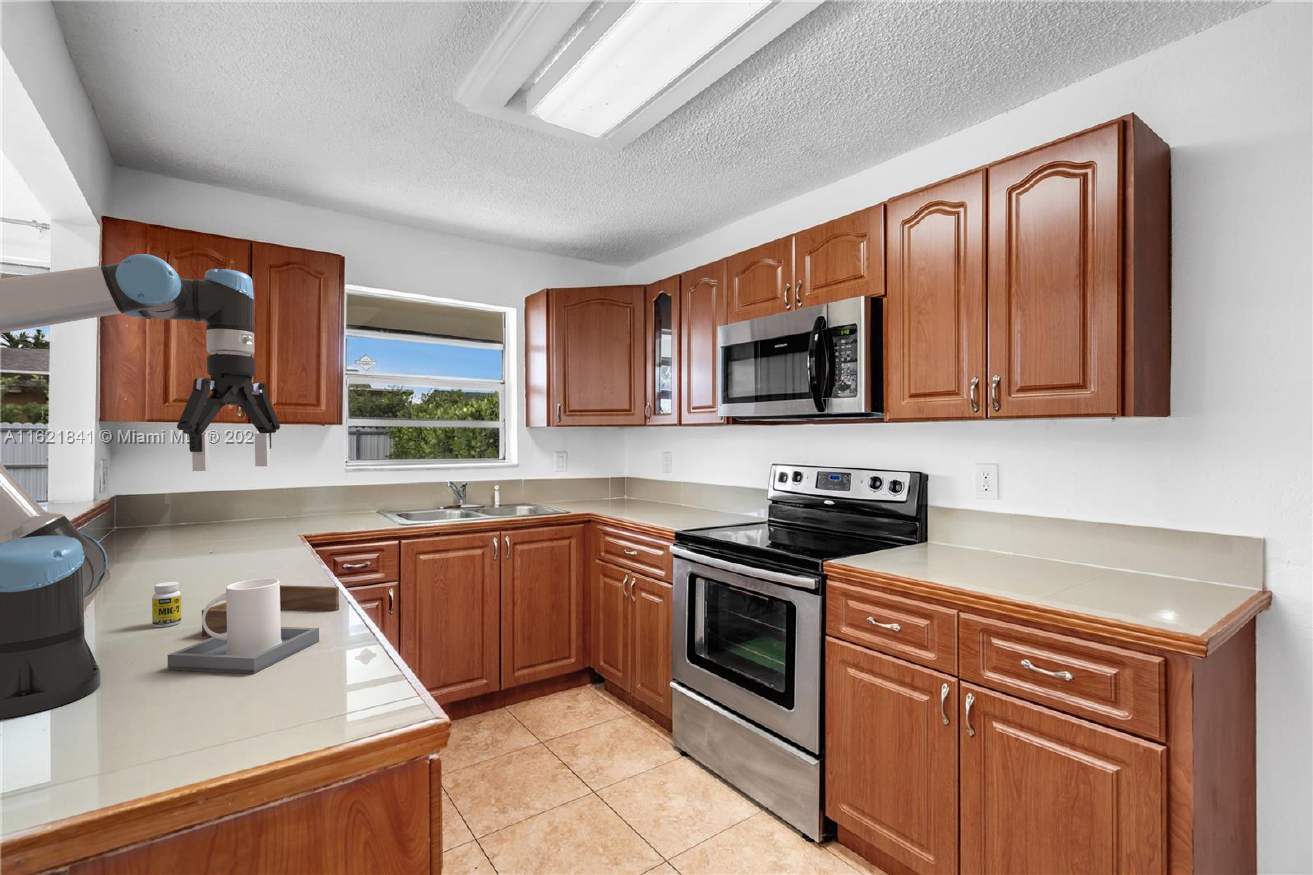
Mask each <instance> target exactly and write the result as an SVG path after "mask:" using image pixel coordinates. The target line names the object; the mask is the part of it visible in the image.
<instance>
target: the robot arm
mask: <svg viewBox="0 0 1313 875" xmlns="http://www.w3.org/2000/svg"><path fill="white" fill-rule="evenodd" d="M253 285H254V283H253V279H252V278H251V276H249V275H248V274H247V273H245V272H242V271H240V270H239V271H238V270H233V269H226V268H225V269H224V268H221V269H219V268H211V269H208V270H206V271H205V274H204V277H203V279H192V278H191V279H190V278H181V277H180V275H179V274H178V273H177V271H176V270H175V268H173V267H172V266H171V265H170V264H169V263H168V262H166V261H165V260H164V259H162V258H160V257H158V256H155V255H152V254H146V253H138V254H132V255H129V256H127V257H126V258H124V259H123V260H122V261H121V262H115V263H110V264H109V263H108V264H105V265H104V264H103V265H96V266H87V267H82V268H80V267H79V268H73V269H67V270H66V269H65V270H58V271H57V270H56V271H51V272H44V273H43V272H42V273H36V274H27V275H21V276H12V277H5V278H0V334H5V333H12V332H18V331H22V330H23V331H24V330H28V329H29V330H31V329H33V328H35V329H36V328H40V327H41V328H42V327H46V326H52V325H58V324H59V325H60V324H64V323H70V322H76V321H77V322H78V321H83V320H89V319H93V318H100V317H106V316H111V315H118V314H124V315H126V316H128V317H130V318H143V319H146V320H153V319H154V320H155V319H156V320H170V321H171V320H172V321H173V320H174V321H192V322H193V321H194V322H205V324H206V326H205V327H206V328H205V329H206V330H205V331H206V332H205V333H206V337H205V338H206V352H207V353H209V355H207V357H206V374H208V375H209V376H210V378H209V377H204V378H203V377H200V378H199V377H198V378H197V377H196V378H194V379H193V384H192V391H191V393H190V395H189V398H188V400H187V403H186V405H185V407H184V409H183V412H182V413H181V415H180V418H179V420H178V422H177V425H176V429H177V430H179V431H182V432H183V434H185V435H188V444H189V447H188V448H189V453H191V456H192V459H191V460H192V462H191V463H192V472H209V471H210V447H209V446H210V443H209V442H210V441H209V439H210V438H209V433H205V431H206V430H207V428H208V427H209V426H210V424H211V423H212V421H213V420H214V419H215V418H216V416H217V415H218V413H219V412H220V410H221V409H222V407H225V406H226V405H230V406H237V407H239V408H240V409H242V411H243V412H244V413H245V415H246V416H247V417H248V419H249V420H250V422H251V423H252V424H253V426H254V427H255V429H256V430H257V432H258V433H257V432H256V433H254V454H255V455H254V459H255V460H254V464H255V465H254V466H255V467H271V454H270V453H271V451H270V450H271V449H272V434H275V433H276V432H277V431H278V430H280V428H281V424H280V422H279V420H278V418H277V415H276V412H275V410H274V408H273V405H272V402H271V401H270V398H269V395H268V390H267V384H266V383H265V382H253V381H252V378H253V377H255V375H256V359H255V357H253V356H251V355H254V354H255V295H254V286H253ZM107 568H108V556H107V553H106V550H105V549H104V547H103V546H102V545H101V544H100V543H99V541H97V540H96V539H94V538H93V537H92V536H89V535H87V534H85V533H83V532H82V533H81V531H80V530H79V529H78V528H77V527H76V526H75V525H74V524H73V523H72V522H71V521H70V520H69V519H68V517H66V515H65V514H64V513H63V514H62V513H54V512H49V511H46V510H45V509H44V508H43V507H42V506H41V505H40V504H39V503H38V502H37V501H36V500H35V499H34V497H33V496H32V495H31V494H30V492H28V491H27V489H25V488H24V486H22V484H21V483H20V482H19V481H18V480H17V478H16V477H15V476H13V474H12V473H10V472H9V470H8V469H7V468H6V467H5V466H4V465H3V464H2V462H0V719H6V718H13V717H19V716H25V715H29V714H34V713H39V712H41V711H45V710H46V711H47V710H49V709H52V708H56V707H59V706H62V705H65V704H68V703H72V702H75V701H77V700H79V699H82V698H83V697H86V696H88V695H90V694H92V693H93V692H95V691H96V690H97V689H98V688H99V687H100V686H101V669H100V667H99V666H98V664H97V662H96V659H95V656H94V655H93V654H94V653H93V652H92V651H91V648H90V646H89V644H88V642H87V640H86V636H85V598H86V597H87V596H90V595H91V594H92V593H93V592H94V591H95V590H96V589H97V588H98V587H99V586H100V584H101V583H102V582H103V579H104V578H105V575H106V572H107Z"/></svg>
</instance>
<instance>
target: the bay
mask: <svg viewBox="0 0 1313 875" xmlns="http://www.w3.org/2000/svg"><path fill="white" fill-rule="evenodd" d="M339 589H340V588H339V586H321V585H320V586H317V585H313V586H312V585H280V610H306V611H307V610H308V611H312V610H313V611H338V610H340V594H339V593H340V590H339ZM203 612H204V609H202V610H201V616H202V615H203ZM205 622H206V625H207V627H208V628H209V629H210V630H211V631H213V632H215V633H218V634H222V633H224V632H227V609H226V602H223V603H219V604H216V605H213V606H211V607H210V608H209V610H208V611H207V613H206V617H205ZM201 631H202V632H201V636H202V637H211V636H210V635H209V634H208V633H207V632H206V631H205V630H204V628H203V625H202V624H201Z"/></svg>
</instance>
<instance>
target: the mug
mask: <svg viewBox="0 0 1313 875" xmlns="http://www.w3.org/2000/svg"><path fill="white" fill-rule="evenodd" d="M280 583H281V582H280V580H279V579H276V578H257V579H254V578H253V579H248V580H241V581H238V582H234V583H230V584H229V585H227V586H226V587H225V592H224V593H222V594H219V595H217V596H216V597H215V598H213V599H211V600H210V601H209V603H207V605H206V606H205V608H204V609H203V610H204V612H203V615H202V614H201V626H202V625H203V628H204V630H205V631H206V632H207V633H208V634H209V635H210V636H209V637H211V638H212V637H213V638H216V639H219V640H225V641H227V651H226V655H238V656H255V655H257V654H259V653H261V652H263V651H265V650H268V649H270V648H272V647H274V646H276V645H278V644H281V643H282V640H281V627H282V624H281V623H282V622H281V609H280ZM223 601H226V609H227V633H226V634H218V633H215V632H213V631H211V630H210V629H209V628H208V627H207V625H206V622H205V617H206V613H207V611H208V610H209V608H210V607H213V606H215V604H217V603H219V602H223Z"/></svg>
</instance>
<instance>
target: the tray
mask: <svg viewBox="0 0 1313 875" xmlns="http://www.w3.org/2000/svg"><path fill="white" fill-rule="evenodd" d="M226 633H227V632H224V633H222V634H226ZM281 640H282V643H281V644H278V645H276V646H274V647H272V648H270V649H268V650H265V651H263V652H261V653H259V654H257V655H255V656H238V655H226V651H227V641H225V640H219V639H216V638H213V637H212V636H211V637H210V638H207V639H205V640H201V641H199V642H197V643H194V644H192V645H191V644H190V645H189V646H186V647H184V648H181V649H178V650H176V651H174V652H171V653H169V654H167V670H168V671H185V672H186V671H189V672H190V671H191V672H209V673H211V672H212V673H213V672H214V673H230V674H231V673H232V674H250V675H251V674H252V675H253V674H256V673H259V672H261V671H263V670H265V669H267V668H268V667H271V666H273V665H275V664H277V663H278V662H280V661H283V660H285V659H287V658H288V657H291V656H293V655H295V654H296V653H297V654H298V653H299V652H301V651H303V650H305V649H307V648H308V647H311V646H313V645H315V644H316V643H319V642H320V627H297V626H294V627H293V626H281Z"/></svg>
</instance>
